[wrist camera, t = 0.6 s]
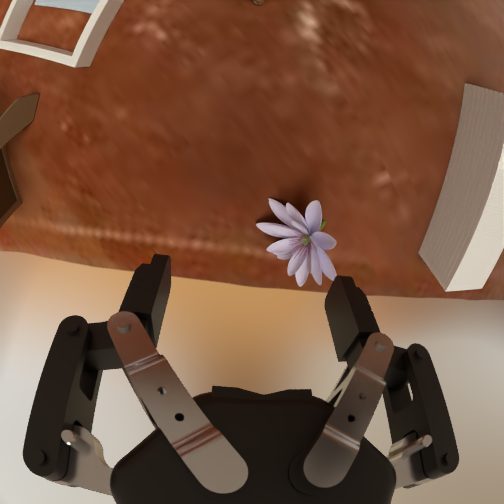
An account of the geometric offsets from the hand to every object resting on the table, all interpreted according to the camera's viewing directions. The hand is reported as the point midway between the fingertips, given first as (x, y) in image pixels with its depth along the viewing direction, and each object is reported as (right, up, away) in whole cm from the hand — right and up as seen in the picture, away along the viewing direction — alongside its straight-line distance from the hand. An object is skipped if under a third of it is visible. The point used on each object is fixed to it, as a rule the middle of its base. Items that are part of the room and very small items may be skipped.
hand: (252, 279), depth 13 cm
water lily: (+6, +6, +28) cm, 29 cm away
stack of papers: (+37, +14, +24) cm, 46 cm away
